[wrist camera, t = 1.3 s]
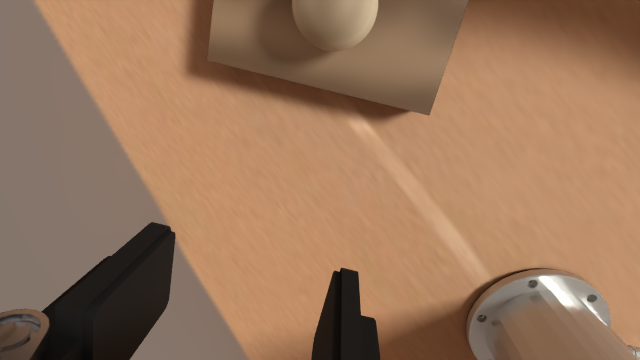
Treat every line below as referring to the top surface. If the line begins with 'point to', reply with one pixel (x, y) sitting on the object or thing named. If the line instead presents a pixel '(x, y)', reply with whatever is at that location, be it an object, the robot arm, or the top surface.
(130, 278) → the robot arm
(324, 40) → the ball
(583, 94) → the top surface
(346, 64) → the board
